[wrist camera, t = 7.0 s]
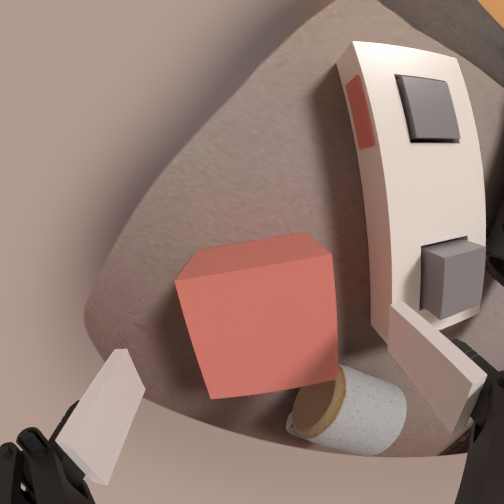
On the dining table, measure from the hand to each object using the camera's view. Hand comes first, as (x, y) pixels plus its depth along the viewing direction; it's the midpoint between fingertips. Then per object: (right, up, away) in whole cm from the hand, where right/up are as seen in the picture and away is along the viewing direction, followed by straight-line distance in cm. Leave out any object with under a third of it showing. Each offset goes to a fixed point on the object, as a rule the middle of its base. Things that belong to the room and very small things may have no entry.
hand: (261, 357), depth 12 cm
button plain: (+14, +4, +6) cm, 16 cm away
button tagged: (+12, +16, +5) cm, 20 cm away
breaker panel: (+13, +10, +7) cm, 18 cm away
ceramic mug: (+7, -9, +12) cm, 17 cm away
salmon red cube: (0, +2, +9) cm, 9 cm away
